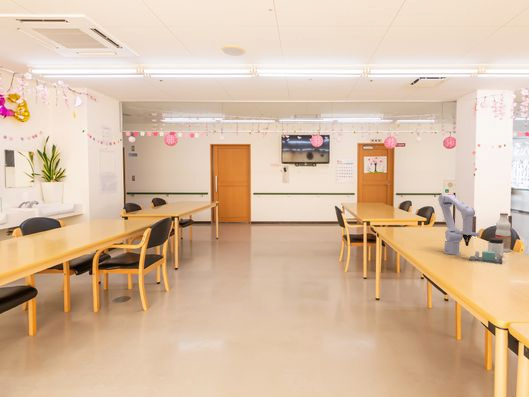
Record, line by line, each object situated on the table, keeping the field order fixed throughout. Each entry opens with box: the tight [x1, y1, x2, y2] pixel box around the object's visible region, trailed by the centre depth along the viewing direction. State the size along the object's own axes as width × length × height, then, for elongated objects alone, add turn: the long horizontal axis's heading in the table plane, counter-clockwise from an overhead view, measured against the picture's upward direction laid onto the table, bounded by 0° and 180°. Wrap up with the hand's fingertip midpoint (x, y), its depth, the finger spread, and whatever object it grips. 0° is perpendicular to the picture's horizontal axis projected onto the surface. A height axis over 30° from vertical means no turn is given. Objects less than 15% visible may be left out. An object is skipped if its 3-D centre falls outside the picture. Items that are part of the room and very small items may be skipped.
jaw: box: [474, 250, 480, 259], centre depth 231 cm, size 2×8×4 cm, turn 145°
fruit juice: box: [494, 212, 512, 253], centre depth 255 cm, size 9×9×28 cm
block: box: [481, 250, 496, 261], centre depth 227 cm, size 7×4×5 cm, turn 54°
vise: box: [469, 254, 503, 265], centre depth 228 cm, size 18×10×4 cm, turn 55°
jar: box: [487, 237, 504, 258], centre depth 240 cm, size 9×8×12 cm
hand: (466, 245), depth 234 cm, fingers closed
